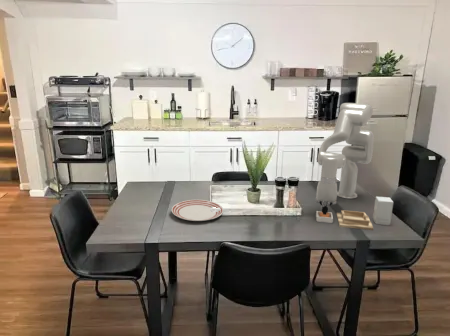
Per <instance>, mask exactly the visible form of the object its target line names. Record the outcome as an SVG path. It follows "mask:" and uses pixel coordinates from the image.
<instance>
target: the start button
mask: <svg viewBox="0 0 450 336" xmlns="http://www.w3.org/2000/svg"><path fill="white" fill-rule="evenodd" d="M329 215H330V214H329V213H326V215H325V214H323V212H320V217H329Z"/></svg>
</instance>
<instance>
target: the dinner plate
mask: <svg viewBox="0 0 450 336" xmlns="http://www.w3.org/2000/svg"><path fill="white" fill-rule="evenodd" d="M211 206H212V207H216V208H220V209H221V210H220V211H218V212H215V213H213V212H211V211H210V208H211ZM171 213H172V214H173V215H174V216H176V217H177V218H179V219H182V220H186V221H193V222H204V221H210V220H214V219H217V218H219V217H220V216H221V215H222V214H223V213H224V208H223V205H220V204H218V203H217V202H214V201H211V200H207V199H188V200H184V201H180V202H178V203H176V204H174V205H173V206H172V207H171Z"/></svg>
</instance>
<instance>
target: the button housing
mask: <svg viewBox="0 0 450 336" xmlns="http://www.w3.org/2000/svg"><path fill="white" fill-rule="evenodd" d="M315 212H316V213H315V220H316V222H317V223H318V222H320V223H329V224H333V223H334V218H333V212H331V211H328V213H329V214H330V215H329V217H320V212H322V210H321V211H320V210H319V211H318V210H316V211H315Z"/></svg>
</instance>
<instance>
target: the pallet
mask: <svg viewBox="0 0 450 336" xmlns="http://www.w3.org/2000/svg"><path fill="white" fill-rule="evenodd" d="M340 211H341V212H336V219H337V222H338V226H339V228H347V229H358V230H367V231H374V226H373V223H372V221H371V220H370V217H369V215H367V214H366V212H365V211H356V210H344V209H341V210H340Z"/></svg>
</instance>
